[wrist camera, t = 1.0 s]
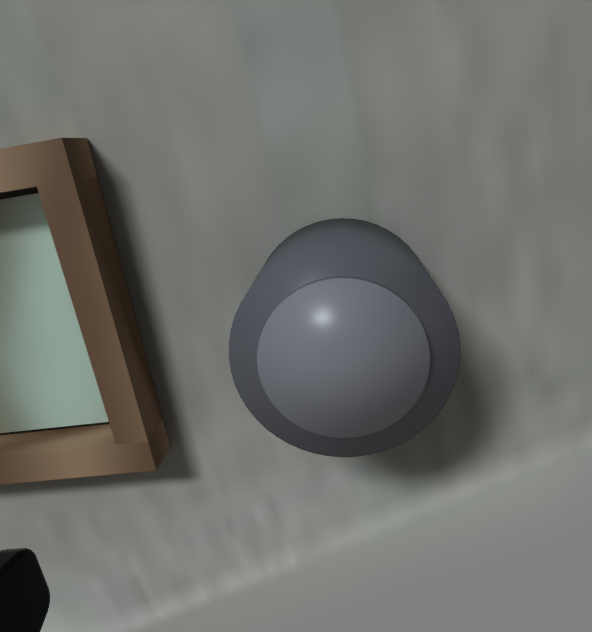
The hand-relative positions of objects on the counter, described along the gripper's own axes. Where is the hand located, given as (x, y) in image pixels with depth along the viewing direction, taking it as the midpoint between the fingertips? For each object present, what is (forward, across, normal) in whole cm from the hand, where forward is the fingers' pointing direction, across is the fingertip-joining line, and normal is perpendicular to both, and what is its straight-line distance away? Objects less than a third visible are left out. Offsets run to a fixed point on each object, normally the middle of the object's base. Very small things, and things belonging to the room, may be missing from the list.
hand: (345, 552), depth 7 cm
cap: (+11, 0, 0) cm, 11 cm away
